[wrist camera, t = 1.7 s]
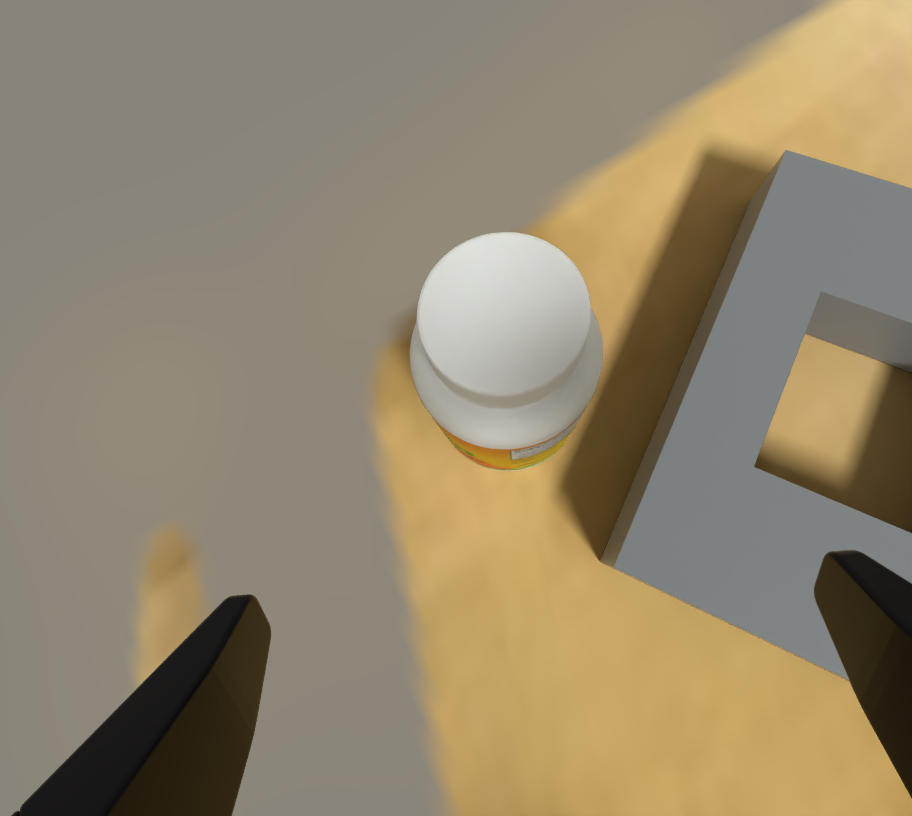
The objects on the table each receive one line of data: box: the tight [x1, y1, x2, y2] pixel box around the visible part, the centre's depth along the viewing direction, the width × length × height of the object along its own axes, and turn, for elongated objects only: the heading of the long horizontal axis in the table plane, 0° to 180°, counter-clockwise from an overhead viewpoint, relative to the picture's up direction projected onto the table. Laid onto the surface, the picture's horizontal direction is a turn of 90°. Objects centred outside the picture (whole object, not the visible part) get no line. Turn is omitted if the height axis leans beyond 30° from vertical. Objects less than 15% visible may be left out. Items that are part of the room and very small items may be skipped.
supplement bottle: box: [410, 232, 603, 471], centre depth 17 cm, size 5×5×10 cm
